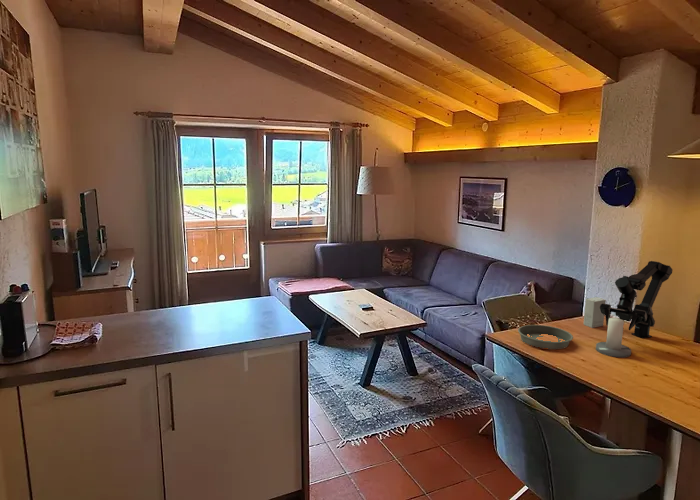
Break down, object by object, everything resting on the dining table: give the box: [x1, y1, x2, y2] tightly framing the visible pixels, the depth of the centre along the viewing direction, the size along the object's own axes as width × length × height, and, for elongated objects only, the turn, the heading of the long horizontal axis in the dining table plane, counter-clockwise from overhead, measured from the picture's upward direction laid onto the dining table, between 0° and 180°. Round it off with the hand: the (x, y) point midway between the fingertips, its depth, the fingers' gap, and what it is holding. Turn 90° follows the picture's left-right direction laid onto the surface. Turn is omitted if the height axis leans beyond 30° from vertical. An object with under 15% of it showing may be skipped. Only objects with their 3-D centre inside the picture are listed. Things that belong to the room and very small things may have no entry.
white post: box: [605, 317, 625, 350], centre depth 209 cm, size 6×6×13 cm
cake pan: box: [517, 324, 574, 350], centre depth 222 cm, size 25×25×4 cm
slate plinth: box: [595, 341, 632, 359], centre depth 210 cm, size 14×14×2 cm
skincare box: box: [583, 296, 607, 329], centre depth 245 cm, size 8×6×15 cm
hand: (617, 327), depth 211 cm, fingers open, 9 cm apart
